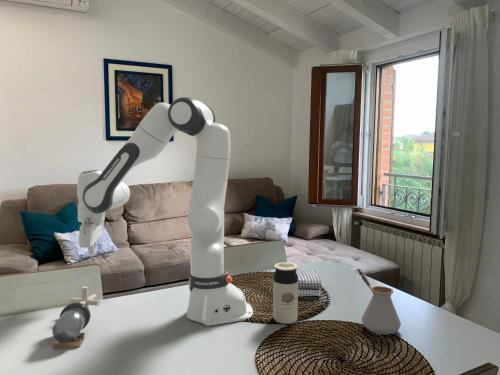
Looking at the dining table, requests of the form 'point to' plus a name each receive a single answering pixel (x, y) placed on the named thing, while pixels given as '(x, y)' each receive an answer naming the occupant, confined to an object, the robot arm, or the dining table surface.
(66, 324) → the lidded storage canister
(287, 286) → the travel mug
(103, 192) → the robot arm
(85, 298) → the beige crossed rods piece
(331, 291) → the dining table surface
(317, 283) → the towel
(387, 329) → the coffee pot
